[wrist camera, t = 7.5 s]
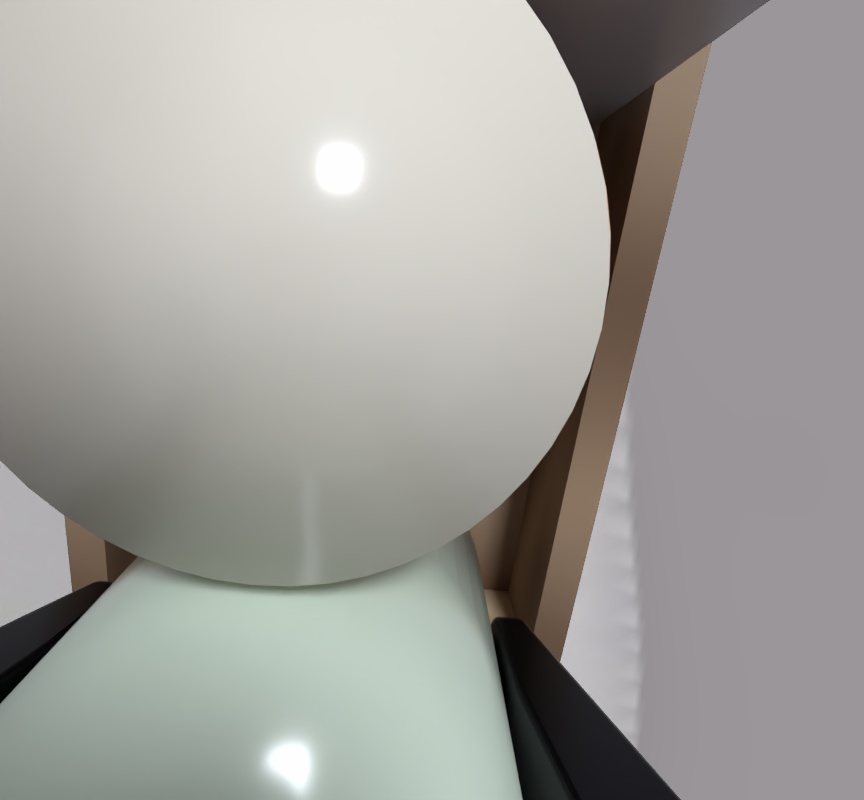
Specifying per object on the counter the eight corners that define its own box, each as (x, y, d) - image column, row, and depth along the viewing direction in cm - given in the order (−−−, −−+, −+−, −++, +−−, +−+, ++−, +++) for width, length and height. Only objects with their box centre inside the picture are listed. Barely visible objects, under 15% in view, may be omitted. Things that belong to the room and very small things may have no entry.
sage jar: (502, 458, 7) (780, 1168, 2) (458, 713, 9) (525, 1569, 3) (165, 423, 7) (-891, 1127, 1) (175, 691, 9) (-326, 1581, 3)
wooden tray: (525, 610, 12) (550, 700, 9) (151, 577, 11) (80, 663, 9) (684, -143, 8) (799, -315, 5) (109, -244, 7) (-42, -483, 5)
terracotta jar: (481, 411, 10) (569, 645, 4) (223, 382, 9) (-91, 587, 4) (526, 130, 8) (767, -153, 2) (223, 87, 8) (-291, -345, 2)
